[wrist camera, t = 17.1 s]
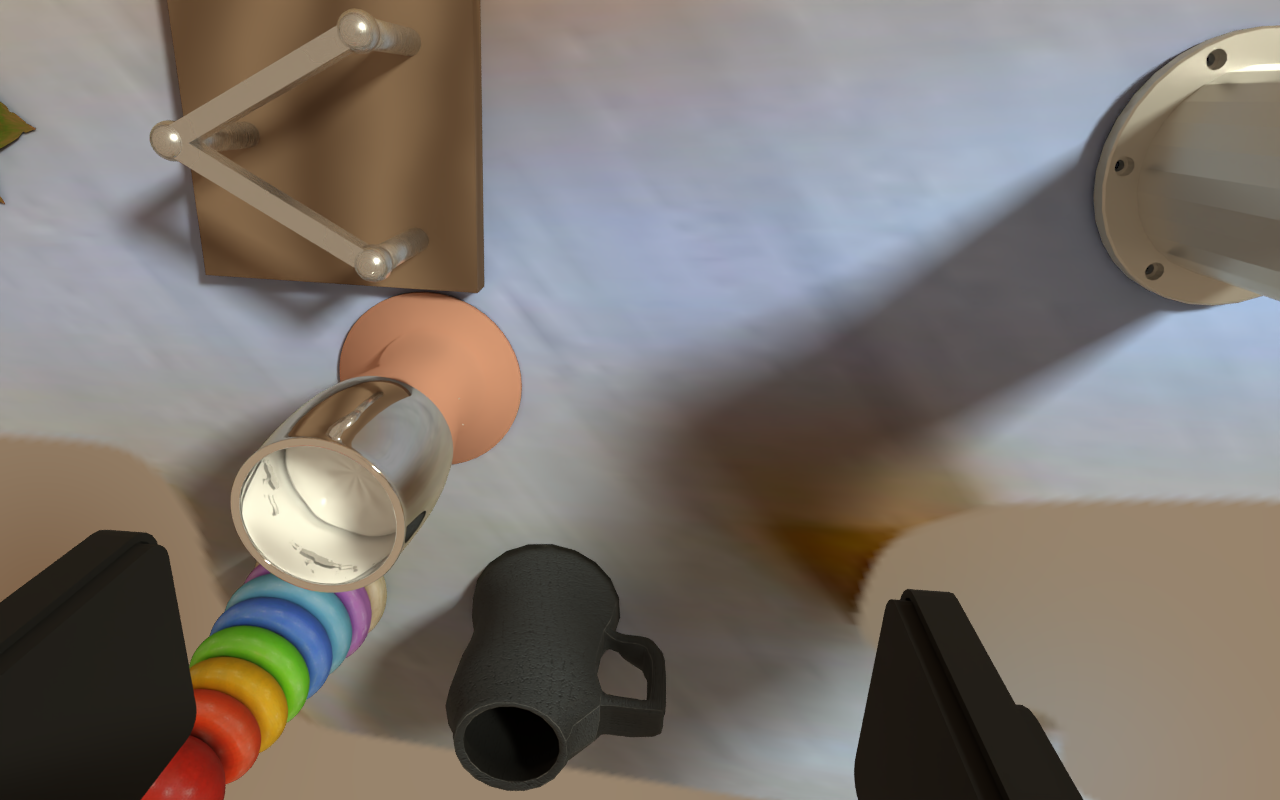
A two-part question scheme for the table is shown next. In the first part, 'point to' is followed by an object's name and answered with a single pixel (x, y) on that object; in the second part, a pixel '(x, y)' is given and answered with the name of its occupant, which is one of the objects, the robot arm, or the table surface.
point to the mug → (544, 669)
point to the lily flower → (11, 128)
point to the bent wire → (218, 131)
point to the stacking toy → (262, 675)
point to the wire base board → (345, 138)
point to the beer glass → (359, 466)
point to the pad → (462, 324)
